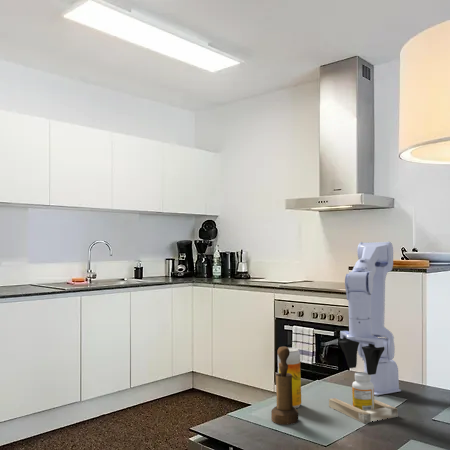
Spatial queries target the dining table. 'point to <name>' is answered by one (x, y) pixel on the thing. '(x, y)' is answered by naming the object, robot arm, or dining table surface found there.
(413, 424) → the dining table surface
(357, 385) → the supplement bottle
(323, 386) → the dining table surface
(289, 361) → the beer can
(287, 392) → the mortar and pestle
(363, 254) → the robot arm
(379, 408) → the slide channel
